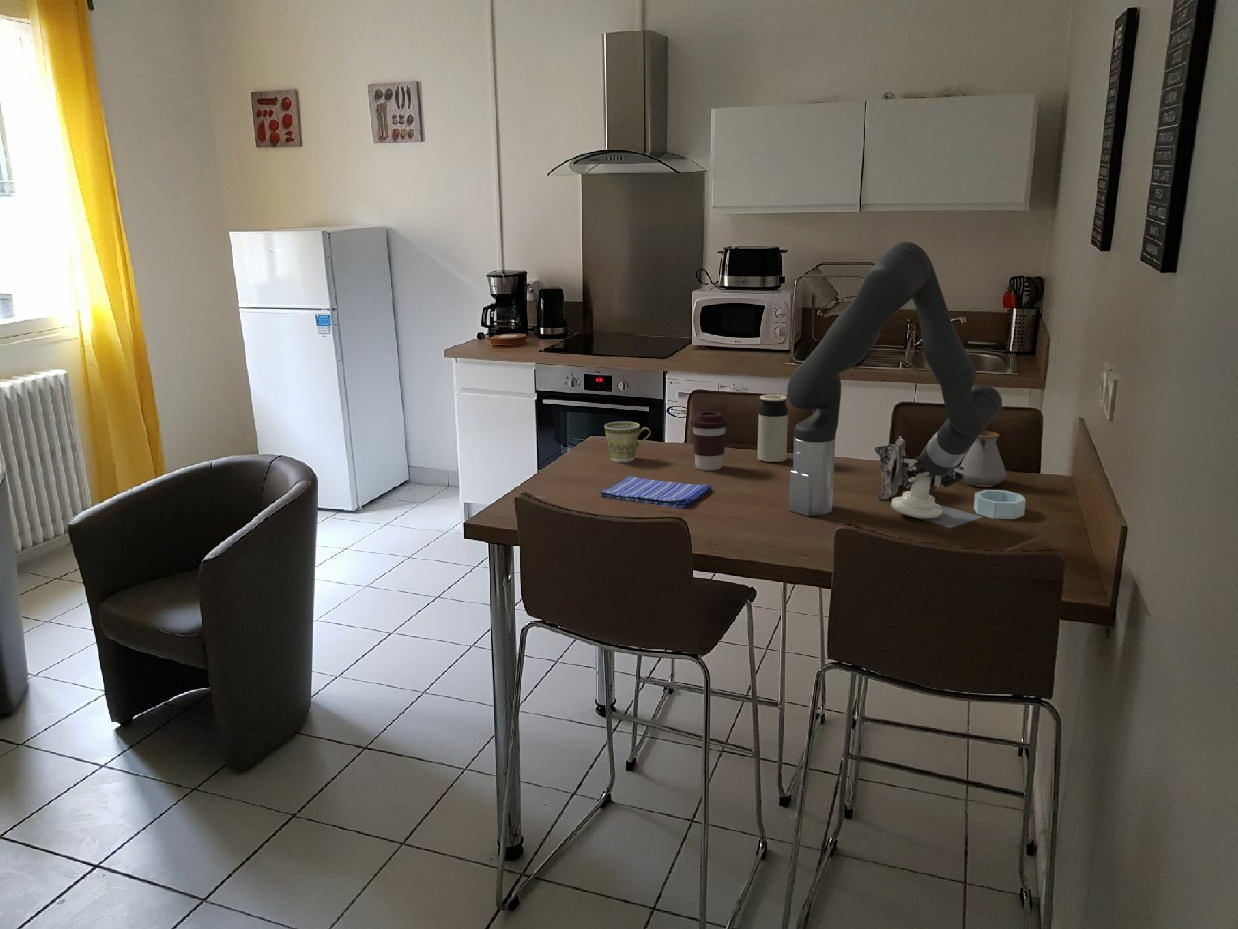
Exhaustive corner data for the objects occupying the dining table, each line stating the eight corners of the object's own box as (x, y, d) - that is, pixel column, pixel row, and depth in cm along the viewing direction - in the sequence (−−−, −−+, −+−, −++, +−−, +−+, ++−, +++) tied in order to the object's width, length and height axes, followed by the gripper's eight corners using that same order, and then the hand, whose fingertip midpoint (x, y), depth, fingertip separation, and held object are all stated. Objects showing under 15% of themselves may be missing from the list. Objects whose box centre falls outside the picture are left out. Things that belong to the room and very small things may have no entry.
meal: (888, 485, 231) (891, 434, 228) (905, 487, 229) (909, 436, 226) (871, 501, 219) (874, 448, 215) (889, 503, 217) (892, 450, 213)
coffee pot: (958, 475, 239) (963, 419, 235) (1006, 479, 234) (1012, 422, 230) (951, 497, 220) (956, 437, 216) (1002, 503, 215) (1008, 441, 211)
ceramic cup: (604, 464, 255) (603, 429, 253) (606, 455, 265) (605, 421, 262) (650, 464, 255) (650, 429, 252) (650, 455, 264) (650, 421, 262)
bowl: (1005, 523, 201) (1007, 505, 200) (965, 512, 209) (967, 495, 208) (1031, 514, 207) (1033, 497, 206) (991, 503, 215) (992, 487, 214)
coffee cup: (690, 463, 255) (690, 410, 251) (725, 462, 255) (726, 409, 251) (691, 472, 245) (691, 417, 241) (728, 472, 245) (729, 417, 241)
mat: (950, 529, 198) (950, 527, 198) (904, 515, 208) (904, 514, 207) (982, 518, 205) (983, 516, 205) (936, 505, 214) (937, 504, 214)
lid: (923, 521, 199) (932, 476, 196) (881, 505, 207) (889, 462, 204) (951, 513, 206) (960, 470, 203) (908, 498, 214) (916, 457, 211)
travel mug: (764, 464, 252) (765, 400, 247) (753, 457, 259) (754, 395, 255) (791, 462, 254) (793, 398, 249) (779, 455, 261) (781, 393, 257)
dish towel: (687, 511, 215) (687, 500, 214) (598, 499, 226) (597, 488, 225) (713, 492, 230) (713, 481, 229) (629, 481, 240) (628, 471, 240)
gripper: (910, 459, 190) (885, 495, 205) (978, 473, 189) (948, 507, 205) (912, 429, 194) (887, 466, 209) (979, 442, 193) (949, 478, 208)
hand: (917, 486), depth 207 cm, fingers closed on lid, 4 cm apart
